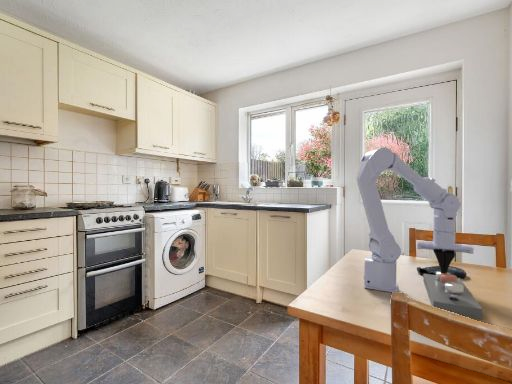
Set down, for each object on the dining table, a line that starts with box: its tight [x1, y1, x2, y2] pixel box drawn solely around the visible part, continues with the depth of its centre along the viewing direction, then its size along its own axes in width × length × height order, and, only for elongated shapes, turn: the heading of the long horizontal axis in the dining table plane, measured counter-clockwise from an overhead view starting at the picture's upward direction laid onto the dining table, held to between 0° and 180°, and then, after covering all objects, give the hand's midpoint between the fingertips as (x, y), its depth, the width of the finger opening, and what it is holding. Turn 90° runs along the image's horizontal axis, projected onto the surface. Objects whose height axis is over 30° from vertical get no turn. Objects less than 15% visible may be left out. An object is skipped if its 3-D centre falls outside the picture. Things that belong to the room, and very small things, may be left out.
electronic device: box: [416, 265, 467, 279], centre depth 97 cm, size 9×6×15 cm
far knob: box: [435, 271, 450, 280], centre depth 85 cm, size 4×4×4 cm
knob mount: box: [422, 273, 483, 320], centre depth 78 cm, size 10×24×2 cm, turn 153°
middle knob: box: [440, 273, 457, 284], centre depth 78 cm, size 4×4×4 cm
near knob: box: [445, 282, 464, 301], centre depth 71 cm, size 4×4×4 cm
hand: (443, 273), depth 85 cm, fingers closed, pressing on far knob
